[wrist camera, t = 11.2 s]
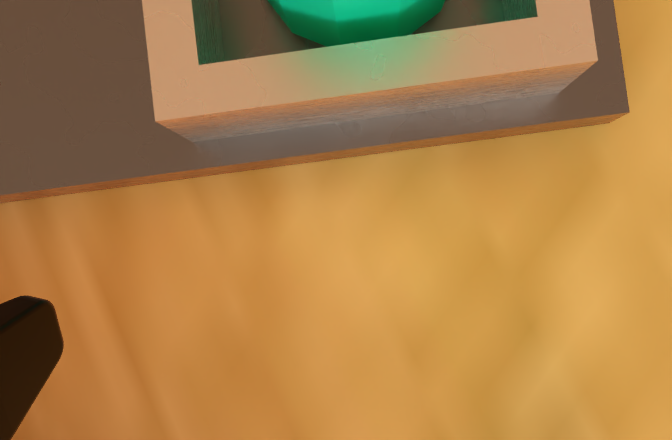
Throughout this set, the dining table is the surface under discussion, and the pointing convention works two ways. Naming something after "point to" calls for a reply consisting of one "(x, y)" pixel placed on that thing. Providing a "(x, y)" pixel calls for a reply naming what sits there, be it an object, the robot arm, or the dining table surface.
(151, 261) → the dining table surface
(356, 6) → the candle
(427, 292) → the dining table surface
